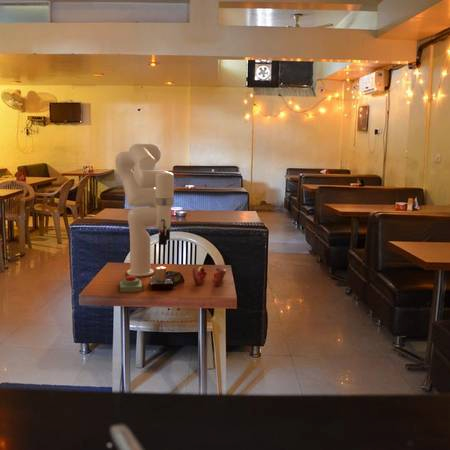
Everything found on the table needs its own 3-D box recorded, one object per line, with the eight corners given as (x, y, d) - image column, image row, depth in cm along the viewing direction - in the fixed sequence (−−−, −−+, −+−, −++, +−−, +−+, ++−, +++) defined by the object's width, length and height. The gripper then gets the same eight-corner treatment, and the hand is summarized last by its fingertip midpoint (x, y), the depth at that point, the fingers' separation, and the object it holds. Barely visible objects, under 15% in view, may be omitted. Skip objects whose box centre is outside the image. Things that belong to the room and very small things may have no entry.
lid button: (125, 279, 222) (125, 275, 222) (135, 279, 223) (135, 275, 223) (126, 281, 219) (125, 277, 218) (135, 281, 219) (135, 277, 219)
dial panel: (149, 283, 230) (149, 276, 229) (170, 282, 231) (170, 275, 231) (151, 290, 219) (151, 283, 218) (172, 289, 221) (172, 282, 220)
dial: (155, 278, 226) (155, 265, 225) (165, 278, 227) (165, 265, 226) (156, 281, 222) (156, 268, 221) (166, 281, 223) (166, 268, 222)
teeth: (195, 262, 237) (227, 264, 235) (195, 278, 239) (227, 281, 236) (190, 268, 227) (223, 271, 224) (190, 285, 229) (223, 288, 226)
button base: (120, 285, 226) (120, 276, 225) (140, 284, 227) (140, 276, 227) (120, 292, 216) (119, 283, 215) (141, 291, 218) (141, 282, 217)
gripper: (158, 199, 222) (158, 237, 225) (152, 204, 205) (152, 246, 208) (176, 199, 222) (175, 238, 225) (170, 205, 205) (170, 246, 208)
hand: (164, 242), depth 217 cm, fingers open, 9 cm apart
